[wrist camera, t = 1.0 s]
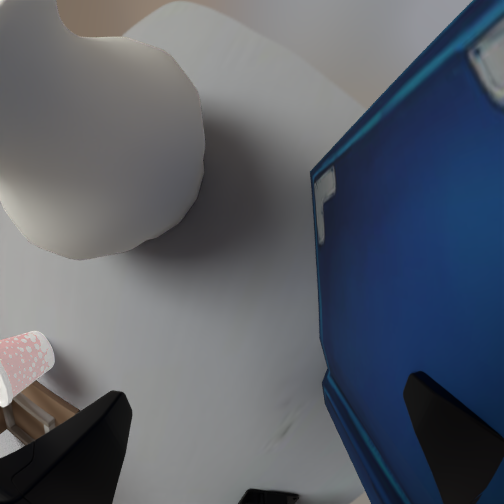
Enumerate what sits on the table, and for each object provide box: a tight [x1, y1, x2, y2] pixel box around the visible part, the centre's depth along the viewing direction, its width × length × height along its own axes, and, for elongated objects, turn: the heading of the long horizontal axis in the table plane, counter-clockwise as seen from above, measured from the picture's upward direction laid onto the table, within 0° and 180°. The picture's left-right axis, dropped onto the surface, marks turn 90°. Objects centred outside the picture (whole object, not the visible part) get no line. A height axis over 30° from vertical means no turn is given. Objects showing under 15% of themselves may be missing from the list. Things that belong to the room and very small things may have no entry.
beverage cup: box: [0, 331, 55, 407], centre depth 14 cm, size 6×6×14 cm
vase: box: [0, 0, 205, 260], centre depth 11 cm, size 14×14×20 cm
